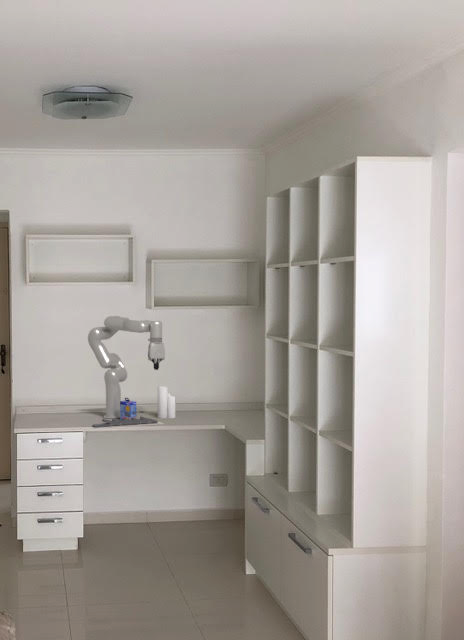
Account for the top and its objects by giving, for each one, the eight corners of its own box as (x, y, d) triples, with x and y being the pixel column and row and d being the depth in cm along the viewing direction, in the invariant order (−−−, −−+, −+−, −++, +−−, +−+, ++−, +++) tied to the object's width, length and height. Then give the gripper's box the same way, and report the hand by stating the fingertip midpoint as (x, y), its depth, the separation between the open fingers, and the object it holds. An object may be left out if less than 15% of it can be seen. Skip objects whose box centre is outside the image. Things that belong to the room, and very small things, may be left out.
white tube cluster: (157, 418, 605) (157, 387, 604) (157, 417, 612) (157, 386, 611) (175, 418, 606) (175, 387, 605) (175, 416, 613) (175, 386, 612)
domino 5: (148, 424, 579) (133, 420, 575) (145, 422, 584) (130, 419, 579) (149, 421, 579) (134, 418, 575) (146, 420, 584) (131, 417, 580)
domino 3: (129, 425, 574) (114, 422, 570) (126, 424, 578) (111, 420, 574) (130, 422, 574) (115, 419, 570) (127, 421, 579) (112, 418, 574)
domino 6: (157, 423, 582) (142, 419, 578) (154, 422, 586) (139, 418, 582) (158, 420, 582) (143, 417, 578) (155, 419, 586) (140, 416, 582)
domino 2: (119, 426, 571) (104, 422, 567) (116, 424, 576) (101, 421, 571) (120, 423, 571) (105, 419, 567) (117, 422, 576) (102, 418, 572)
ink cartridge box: (119, 420, 598) (119, 397, 598) (125, 419, 603) (125, 396, 602) (130, 421, 592) (130, 398, 592) (136, 420, 596) (136, 397, 596)
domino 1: (111, 426, 569) (95, 428, 565) (108, 425, 573) (92, 427, 569) (110, 423, 569) (94, 425, 564) (108, 422, 573) (92, 424, 569)
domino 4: (139, 424, 577) (124, 421, 572) (136, 423, 581) (121, 420, 577) (139, 422, 577) (124, 418, 572) (136, 421, 581) (121, 417, 577)
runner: (104, 425, 576) (104, 424, 576) (157, 421, 591) (157, 421, 591) (110, 428, 565) (110, 427, 565) (165, 424, 580) (165, 423, 580)
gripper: (147, 341, 589) (147, 370, 589) (169, 340, 595) (169, 369, 596) (142, 340, 596) (143, 369, 596) (164, 339, 602) (165, 368, 603)
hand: (156, 369), depth 596 cm, fingers closed
